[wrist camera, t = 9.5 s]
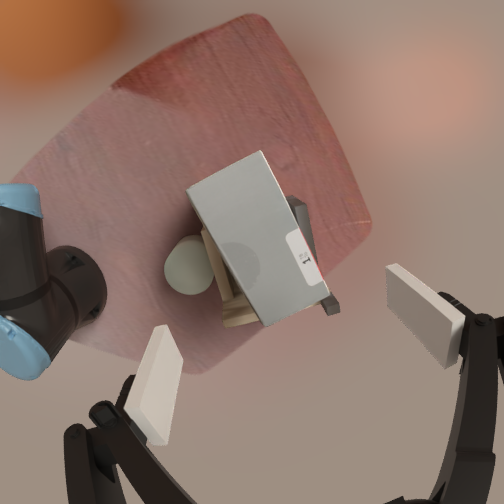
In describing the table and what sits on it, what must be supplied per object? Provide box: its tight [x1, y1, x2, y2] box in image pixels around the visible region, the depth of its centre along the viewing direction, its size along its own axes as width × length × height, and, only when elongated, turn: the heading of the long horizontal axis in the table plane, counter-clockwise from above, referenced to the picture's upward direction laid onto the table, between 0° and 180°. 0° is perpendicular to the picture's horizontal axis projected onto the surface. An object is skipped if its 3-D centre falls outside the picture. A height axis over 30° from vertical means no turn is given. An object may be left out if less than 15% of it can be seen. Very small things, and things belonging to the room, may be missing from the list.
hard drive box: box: [186, 150, 330, 327], centre depth 35 cm, size 16×8×20 cm, turn 27°
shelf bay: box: [201, 195, 340, 329], centre depth 38 cm, size 14×11×17 cm
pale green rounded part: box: [164, 235, 214, 295], centre depth 43 cm, size 7×7×7 cm
